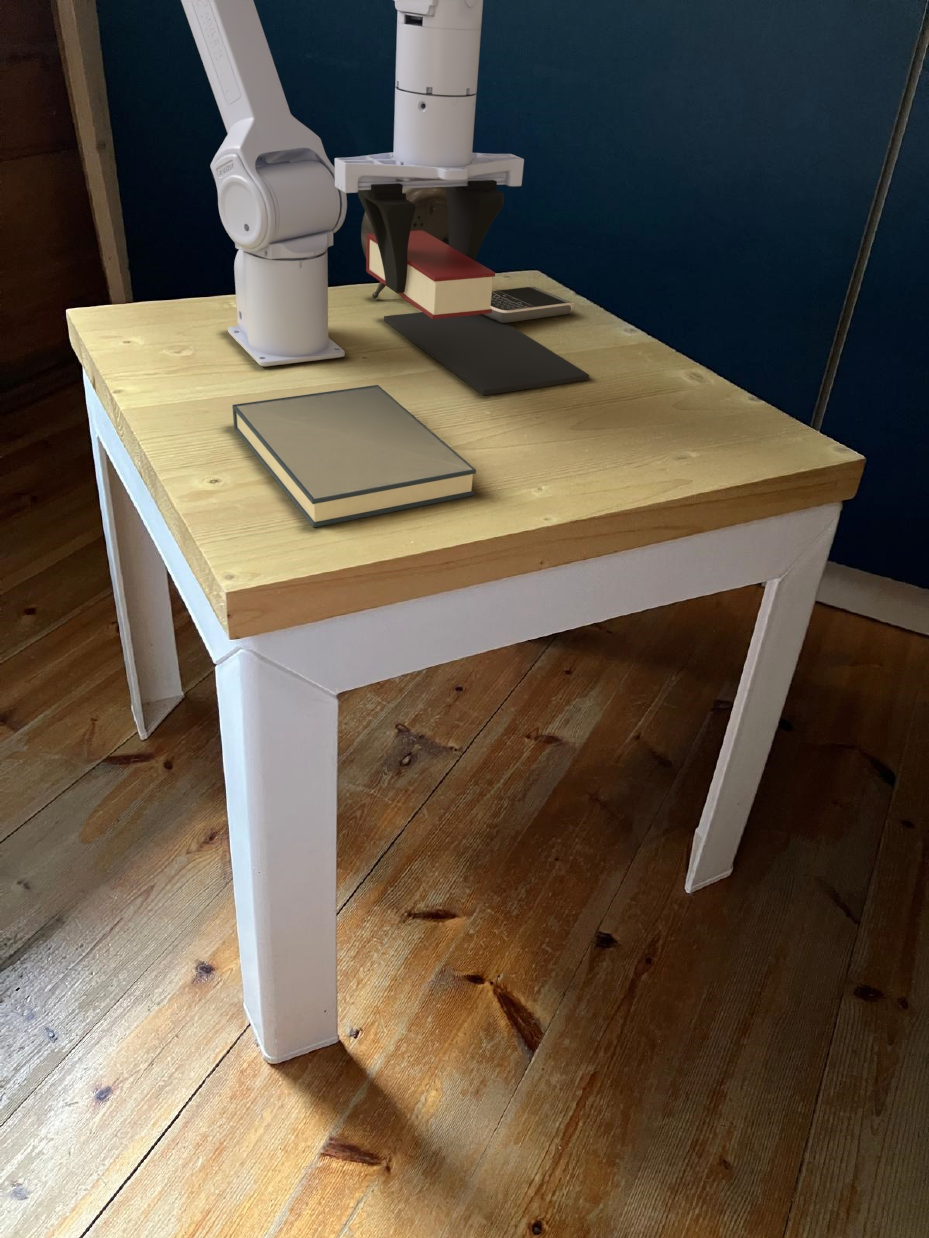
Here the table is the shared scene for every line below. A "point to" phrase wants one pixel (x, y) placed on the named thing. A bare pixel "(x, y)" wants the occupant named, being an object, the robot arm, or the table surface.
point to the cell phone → (526, 304)
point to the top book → (438, 277)
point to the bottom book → (351, 454)
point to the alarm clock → (420, 217)
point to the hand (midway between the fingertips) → (426, 286)
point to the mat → (486, 352)
